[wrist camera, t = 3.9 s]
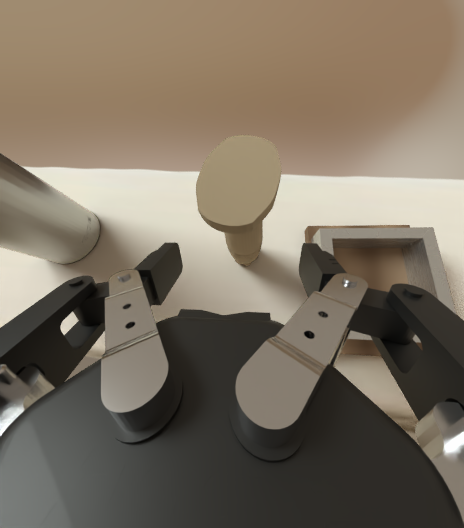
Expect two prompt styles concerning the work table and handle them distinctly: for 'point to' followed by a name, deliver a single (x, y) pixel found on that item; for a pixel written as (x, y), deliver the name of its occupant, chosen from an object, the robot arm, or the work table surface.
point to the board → (368, 275)
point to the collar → (413, 250)
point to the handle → (239, 192)
